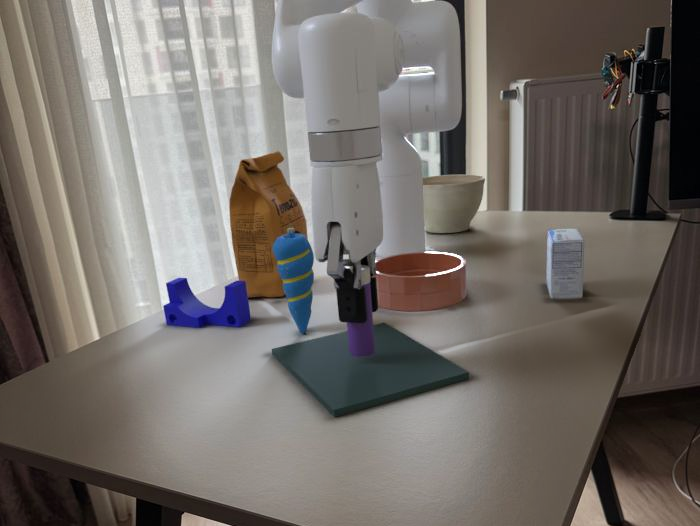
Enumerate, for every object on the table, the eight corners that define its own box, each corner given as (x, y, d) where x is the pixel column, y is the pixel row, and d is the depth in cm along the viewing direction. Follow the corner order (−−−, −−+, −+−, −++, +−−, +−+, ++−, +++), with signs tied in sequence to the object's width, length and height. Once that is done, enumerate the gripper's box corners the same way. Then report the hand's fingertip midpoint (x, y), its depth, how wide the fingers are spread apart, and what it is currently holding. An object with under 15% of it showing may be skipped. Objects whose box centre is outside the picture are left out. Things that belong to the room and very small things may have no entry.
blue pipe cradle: (166, 324, 96) (159, 286, 94) (185, 315, 100) (178, 277, 98) (233, 330, 91) (227, 290, 89) (251, 320, 95) (245, 280, 93)
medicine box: (582, 301, 91) (585, 240, 88) (549, 301, 92) (551, 241, 89) (576, 284, 98) (578, 227, 95) (545, 285, 99) (547, 229, 96)
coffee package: (322, 281, 111) (309, 148, 103) (282, 304, 101) (264, 158, 93) (274, 278, 116) (258, 151, 108) (232, 299, 106) (210, 160, 98)
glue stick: (344, 350, 76) (337, 268, 72) (368, 345, 77) (362, 263, 73) (355, 359, 73) (348, 273, 70) (380, 353, 74) (374, 268, 71)
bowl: (356, 297, 101) (353, 262, 99) (434, 280, 107) (433, 247, 104) (400, 321, 89) (398, 283, 87) (485, 301, 94) (485, 264, 92)
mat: (272, 354, 82) (271, 348, 81) (384, 327, 87) (384, 322, 87) (334, 417, 65) (333, 410, 64) (469, 378, 70) (469, 372, 70)
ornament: (292, 342, 85) (278, 229, 79) (278, 332, 89) (263, 224, 84) (327, 334, 87) (316, 222, 82) (312, 324, 91) (300, 217, 86)
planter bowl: (498, 230, 137) (498, 178, 133) (427, 241, 133) (425, 187, 129) (464, 219, 151) (464, 171, 147) (400, 228, 147) (397, 179, 143)
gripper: (340, 142, 75) (353, 294, 82) (277, 159, 61) (299, 340, 68) (402, 138, 73) (410, 295, 79) (352, 155, 59) (366, 344, 65)
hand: (359, 314), depth 74 cm, fingers closed on glue stick, 3 cm apart
